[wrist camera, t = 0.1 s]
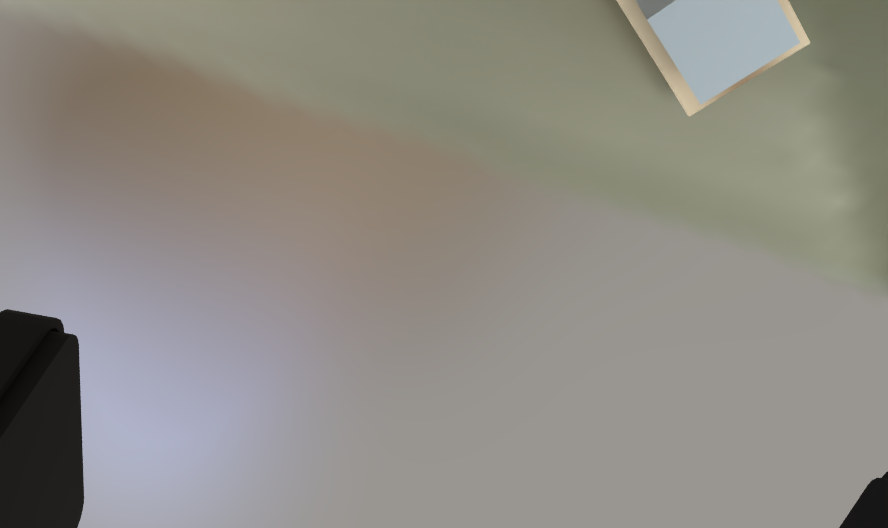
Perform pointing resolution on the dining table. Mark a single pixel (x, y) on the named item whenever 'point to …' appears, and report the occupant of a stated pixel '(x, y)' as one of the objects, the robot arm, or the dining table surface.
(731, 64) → the block
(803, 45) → the beige rectangular bar
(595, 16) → the dining table surface
